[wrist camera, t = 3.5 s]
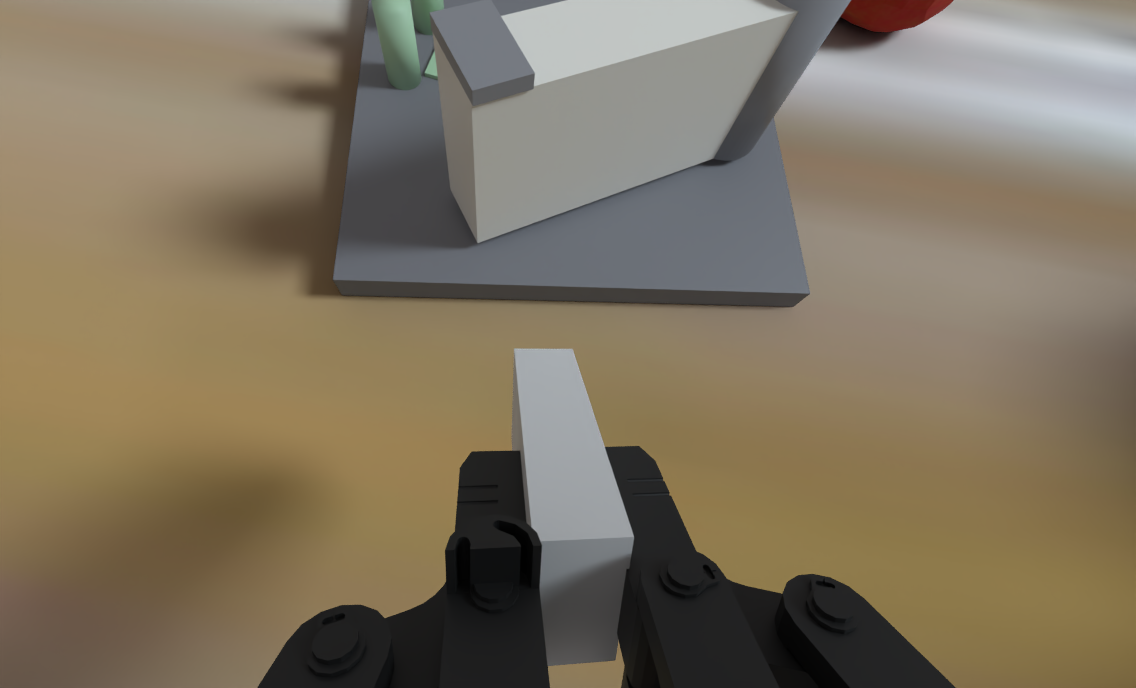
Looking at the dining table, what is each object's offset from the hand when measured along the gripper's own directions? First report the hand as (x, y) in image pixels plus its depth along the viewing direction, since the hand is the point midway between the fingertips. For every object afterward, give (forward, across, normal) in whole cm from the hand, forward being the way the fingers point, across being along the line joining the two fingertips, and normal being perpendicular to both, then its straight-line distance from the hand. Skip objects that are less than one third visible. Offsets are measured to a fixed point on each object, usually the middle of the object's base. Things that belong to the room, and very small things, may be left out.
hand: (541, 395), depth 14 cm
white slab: (+14, +5, +5) cm, 16 cm away
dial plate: (+19, +3, +6) cm, 20 cm away
